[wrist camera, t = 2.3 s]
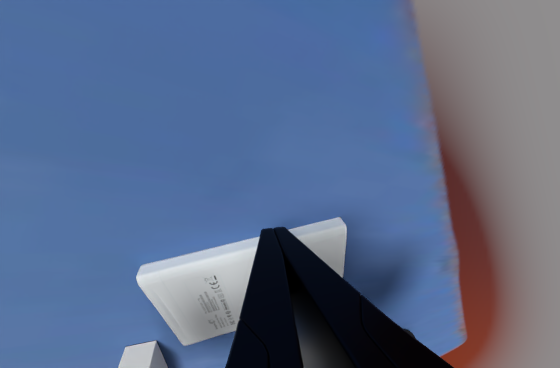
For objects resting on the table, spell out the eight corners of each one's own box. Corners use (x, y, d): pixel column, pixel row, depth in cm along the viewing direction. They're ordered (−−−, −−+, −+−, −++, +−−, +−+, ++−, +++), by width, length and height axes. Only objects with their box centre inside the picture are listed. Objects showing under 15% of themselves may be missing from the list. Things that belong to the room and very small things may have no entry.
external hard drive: (332, 283, 18) (188, 327, 16) (335, 211, 14) (142, 257, 12) (341, 301, 17) (184, 350, 15) (348, 226, 13) (132, 282, 11)
